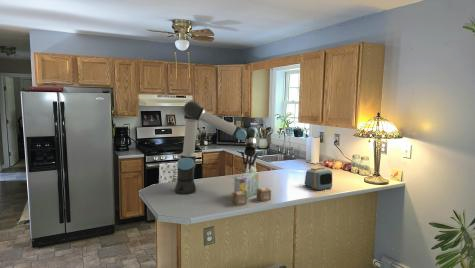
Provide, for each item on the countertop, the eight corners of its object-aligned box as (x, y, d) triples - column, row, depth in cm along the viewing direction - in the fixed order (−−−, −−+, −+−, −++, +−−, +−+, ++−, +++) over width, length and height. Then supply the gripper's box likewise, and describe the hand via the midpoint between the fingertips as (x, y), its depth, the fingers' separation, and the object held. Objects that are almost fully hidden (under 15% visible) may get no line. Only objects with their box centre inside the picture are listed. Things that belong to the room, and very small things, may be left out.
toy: (259, 178, 264) (260, 161, 262) (246, 181, 251) (247, 164, 249) (250, 175, 271) (250, 159, 269) (237, 179, 258) (237, 161, 256)
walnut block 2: (256, 198, 212) (256, 188, 211) (265, 197, 215) (265, 187, 214) (261, 201, 206) (262, 191, 205) (270, 200, 209) (271, 190, 208)
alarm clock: (318, 191, 232) (319, 170, 230) (303, 185, 246) (304, 166, 244) (333, 188, 241) (334, 168, 239) (317, 183, 255) (319, 164, 253)
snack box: (252, 191, 226) (252, 171, 224) (258, 193, 222) (259, 173, 220) (233, 198, 209) (234, 177, 207) (239, 200, 206) (240, 178, 204)
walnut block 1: (232, 202, 203) (232, 191, 202) (241, 201, 206) (242, 190, 205) (237, 206, 196) (237, 195, 195) (246, 204, 199) (247, 193, 198)
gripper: (259, 148, 230) (256, 176, 216) (242, 147, 232) (238, 174, 218) (259, 142, 224) (256, 170, 210) (241, 141, 226) (237, 169, 212)
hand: (247, 172), depth 214 cm, fingers closed
